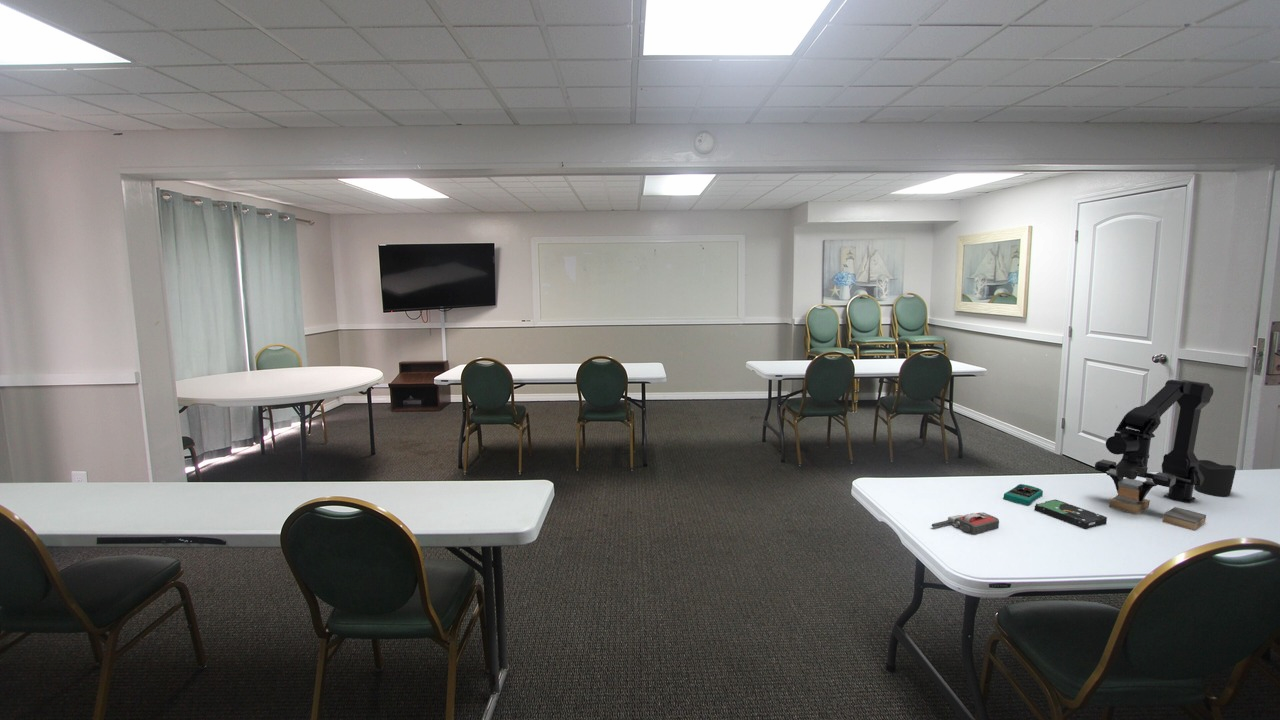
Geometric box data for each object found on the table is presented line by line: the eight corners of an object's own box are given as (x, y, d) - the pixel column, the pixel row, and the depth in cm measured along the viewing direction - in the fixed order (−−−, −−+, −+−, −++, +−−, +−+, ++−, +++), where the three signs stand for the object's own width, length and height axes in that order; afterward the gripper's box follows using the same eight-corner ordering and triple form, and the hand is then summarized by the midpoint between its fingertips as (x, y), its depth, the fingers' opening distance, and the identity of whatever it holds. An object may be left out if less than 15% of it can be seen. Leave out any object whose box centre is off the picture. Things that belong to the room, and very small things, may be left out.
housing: (1124, 495, 182) (1126, 477, 181) (1144, 500, 178) (1146, 482, 177) (1115, 499, 178) (1118, 481, 177) (1135, 504, 174) (1138, 486, 173)
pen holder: (1217, 488, 195) (1222, 461, 193) (1239, 498, 186) (1244, 469, 184) (1185, 486, 197) (1189, 458, 195) (1205, 496, 188) (1210, 467, 186)
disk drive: (1106, 525, 166) (1054, 506, 180) (1108, 516, 166) (1055, 498, 179) (1085, 531, 162) (1033, 511, 176) (1086, 522, 162) (1034, 503, 175)
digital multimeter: (1043, 496, 188) (1044, 488, 188) (1028, 507, 179) (1029, 498, 178) (1018, 490, 194) (1019, 482, 193) (1002, 500, 184) (1003, 492, 184)
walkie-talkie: (974, 517, 171) (928, 528, 163) (976, 503, 171) (929, 514, 163) (1003, 528, 163) (956, 541, 155) (1004, 514, 163) (957, 526, 155)
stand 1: (1121, 500, 184) (1122, 493, 183) (1148, 507, 178) (1149, 500, 177) (1109, 506, 178) (1110, 499, 178) (1137, 514, 173) (1138, 506, 172)
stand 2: (1173, 514, 173) (1175, 506, 172) (1205, 522, 167) (1206, 514, 167) (1162, 521, 168) (1163, 513, 167) (1194, 530, 162) (1195, 522, 161)
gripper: (1090, 447, 179) (1084, 493, 181) (1166, 464, 163) (1159, 514, 166) (1104, 442, 185) (1098, 487, 187) (1179, 457, 169) (1172, 506, 171)
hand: (1130, 498), depth 178 cm, fingers closed on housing, 5 cm apart
